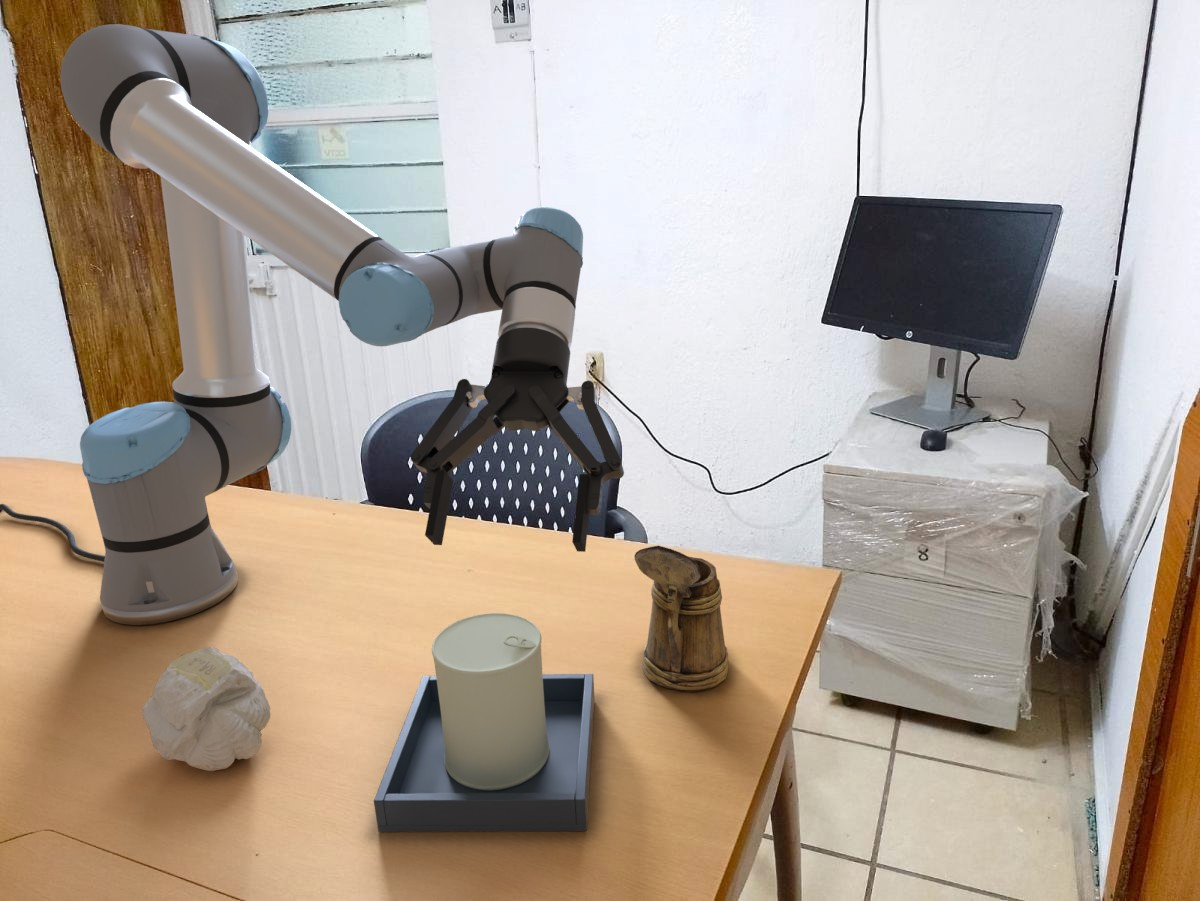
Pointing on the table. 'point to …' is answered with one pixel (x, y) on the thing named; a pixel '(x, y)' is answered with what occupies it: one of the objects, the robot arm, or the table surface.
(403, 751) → the tray
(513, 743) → the can
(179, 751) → the fossil replica
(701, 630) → the wooden mug
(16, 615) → the table surface
